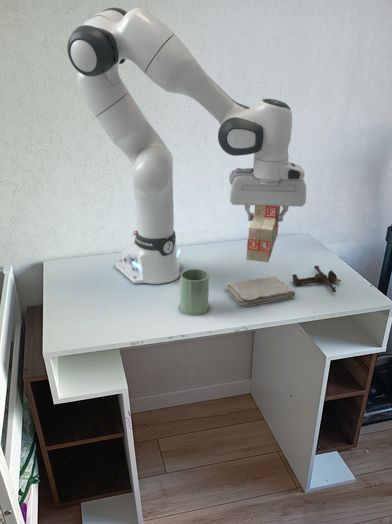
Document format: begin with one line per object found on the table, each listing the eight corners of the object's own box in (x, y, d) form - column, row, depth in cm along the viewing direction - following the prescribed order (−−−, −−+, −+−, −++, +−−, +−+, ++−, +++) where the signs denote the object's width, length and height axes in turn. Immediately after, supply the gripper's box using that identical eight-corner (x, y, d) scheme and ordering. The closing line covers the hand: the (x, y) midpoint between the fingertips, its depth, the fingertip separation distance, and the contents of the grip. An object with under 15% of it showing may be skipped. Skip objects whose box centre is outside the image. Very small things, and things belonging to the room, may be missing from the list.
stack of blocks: (269, 263, 134) (273, 218, 127) (245, 260, 135) (248, 215, 128) (277, 234, 151) (282, 193, 144) (256, 232, 153) (260, 191, 146)
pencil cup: (175, 307, 145) (174, 274, 139) (195, 298, 149) (195, 266, 144) (193, 317, 140) (193, 283, 134) (213, 308, 145) (214, 275, 139)
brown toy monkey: (285, 263, 163) (329, 257, 164) (285, 275, 166) (328, 269, 167) (303, 289, 149) (351, 282, 150) (302, 301, 151) (349, 294, 152)
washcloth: (223, 290, 154) (224, 281, 152) (275, 281, 159) (276, 272, 158) (240, 308, 145) (241, 299, 143) (295, 298, 150) (296, 289, 149)
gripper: (230, 171, 129) (227, 223, 137) (310, 173, 128) (303, 225, 136) (229, 164, 134) (227, 215, 142) (307, 166, 134) (300, 217, 141)
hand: (265, 220), depth 139 cm, fingers closed on stack of blocks, 6 cm apart
